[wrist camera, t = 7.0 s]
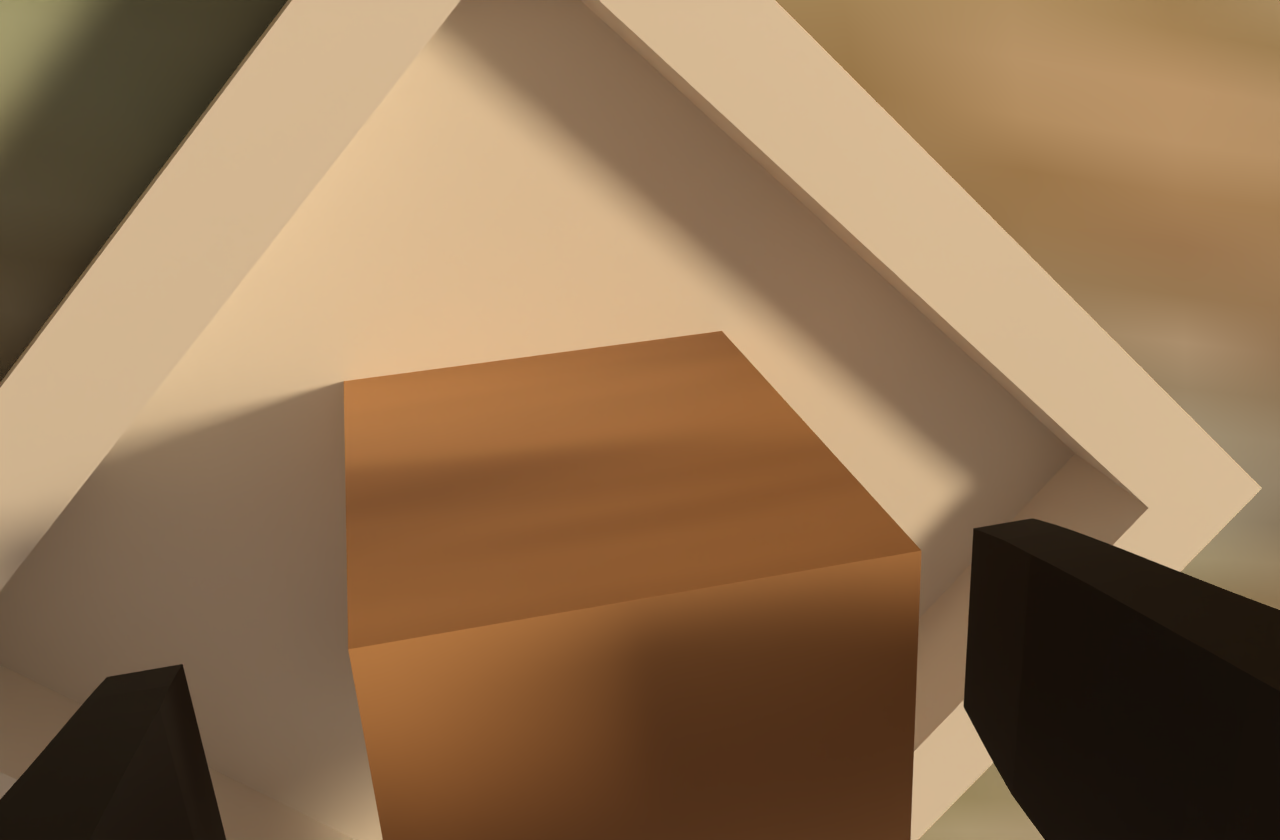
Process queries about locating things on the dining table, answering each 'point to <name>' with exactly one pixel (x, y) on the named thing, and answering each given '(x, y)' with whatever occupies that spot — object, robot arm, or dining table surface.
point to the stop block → (622, 605)
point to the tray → (526, 352)
